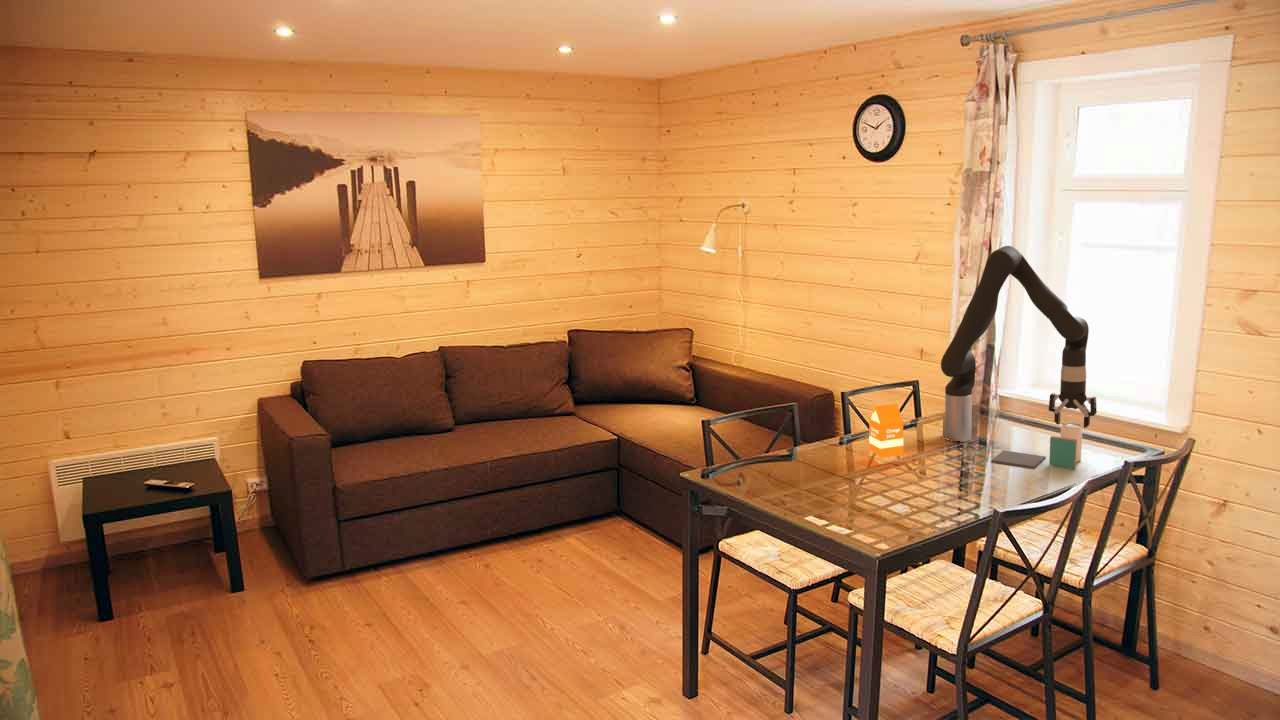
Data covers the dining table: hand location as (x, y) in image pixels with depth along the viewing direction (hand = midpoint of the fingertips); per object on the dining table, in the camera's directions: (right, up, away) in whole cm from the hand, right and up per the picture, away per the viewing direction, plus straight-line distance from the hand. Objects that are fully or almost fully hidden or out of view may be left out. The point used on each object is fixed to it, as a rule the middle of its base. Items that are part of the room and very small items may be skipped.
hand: (1071, 425), depth 301 cm
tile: (-5, -13, -4) cm, 15 cm away
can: (+1, -12, +3) cm, 12 cm away
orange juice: (-58, -13, +13) cm, 61 cm away
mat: (-16, -12, +5) cm, 20 cm away
